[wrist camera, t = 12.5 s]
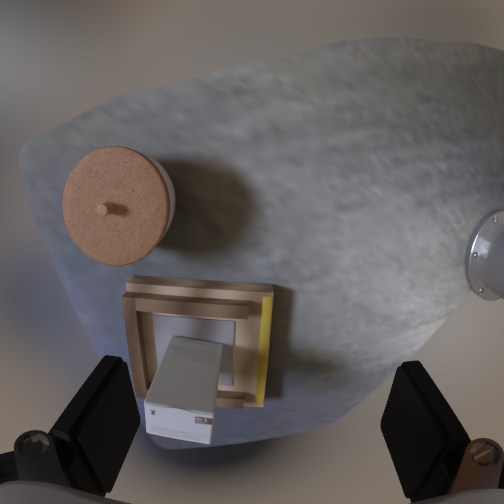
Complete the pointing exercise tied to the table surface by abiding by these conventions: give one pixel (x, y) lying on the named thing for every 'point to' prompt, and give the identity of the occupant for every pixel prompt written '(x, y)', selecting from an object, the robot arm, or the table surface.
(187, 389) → the skincare box
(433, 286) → the table surface
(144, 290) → the frame
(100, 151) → the lidded jar
